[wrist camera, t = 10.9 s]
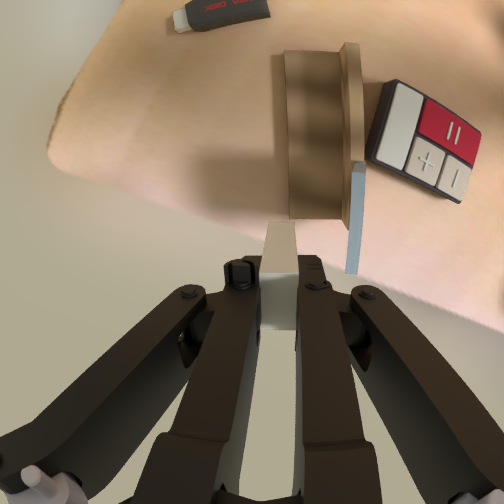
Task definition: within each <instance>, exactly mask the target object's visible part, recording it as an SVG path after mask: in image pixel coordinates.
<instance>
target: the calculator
mask: <svg viewBox="0 0 504 504" xmlns="http://www.w3.org/2000/svg"><path fill="white" fill-rule="evenodd" d="M480 140H481V132H480V131H478V130H477V129H476V128H474V127H473V126H472V125H470V124H469V123H468V122H466V121H465V120H464V119H462V118H461V117H459V116H458V115H456V114H455V113H454V112H452V111H451V110H449V109H448V108H446V107H445V106H443V105H441V104H440V103H438V102H437V101H435V100H433V99H432V98H430V97H428V96H427V95H425V94H423V93H422V92H420V91H418V90H416V89H415V88H413V87H411V86H409V85H407V84H406V83H404V82H402V81H400V80H398V79H394V80H391V81H389V82H386V83H384V85H383V89H382V92H381V96H380V100H379V103H378V107H377V110H376V113H375V117H374V120H373V123H372V127H371V130H370V133H369V136H368V140H367V143H366V146H365V149H364V159H366V160H368V161H370V162H373V163H375V164H377V165H380V166H382V167H384V168H386V169H389V170H391V171H393V172H396V173H398V174H400V175H402V176H404V177H406V178H408V179H410V180H412V181H415V182H417V183H419V184H421V185H423V186H425V187H427V188H428V189H430V190H432V191H434V192H436V193H438V194H440V195H442V196H444V197H445V198H447V199H449V200H451V201H453V202H455V203H457V204H460V203H461V201H462V198H463V195H464V193H465V190H466V187H467V184H468V181H469V178H470V175H471V171H472V168H473V165H474V162H475V158H476V155H477V151H478V147H479V144H480Z"/></svg>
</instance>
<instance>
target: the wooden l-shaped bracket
mask: <svg viewBox="0 0 504 504" xmlns="http://www.w3.org/2000/svg"><path fill="white" fill-rule="evenodd" d="M284 60H285V76H286V96H287V120H288V152H289V219H339V220H342V221H343V223H344V225H345V226H346V228H347V230H349V223H350V207H351V184H352V170H353V168H354V161H364V103H363V85H362V71H361V60H360V50H359V44H357V43H348V42H345V43H344V45H343V47H342V48H341V50H340V51H339V52H325V51H284Z"/></svg>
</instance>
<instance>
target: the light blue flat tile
mask: <svg viewBox="0 0 504 504" xmlns="http://www.w3.org/2000/svg"><path fill="white" fill-rule="evenodd" d="M365 172H366V162H365V161H354V168H353V170H352V184H351V207H350V223H349V237H348V249H347V259H346V269H345V273H346V274H354V275H357V272H358V264H359V255H360V246H361V236H362V225H363V212H364V196H365Z"/></svg>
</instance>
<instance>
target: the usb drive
mask: <svg viewBox="0 0 504 504" xmlns="http://www.w3.org/2000/svg"><path fill="white" fill-rule="evenodd" d="M172 14H173V20H174V26H175V30H176V31H177V32H178V33H179V34H180V33H183V32H186V31H189V30H192V29H193V30H194V31H200V32H205V31H209V30H212V29H216V28H220V27H224V26H228V25H232V24H237V23H242V22H247V21H252V20H257V19H263V18H269V17H271V16H270V12H269V9H268V5H267V1H266V0H192V1H190V2H189V3H187V4H186V5H185V8H183V9H180V10H177V11H174V12H172Z"/></svg>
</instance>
